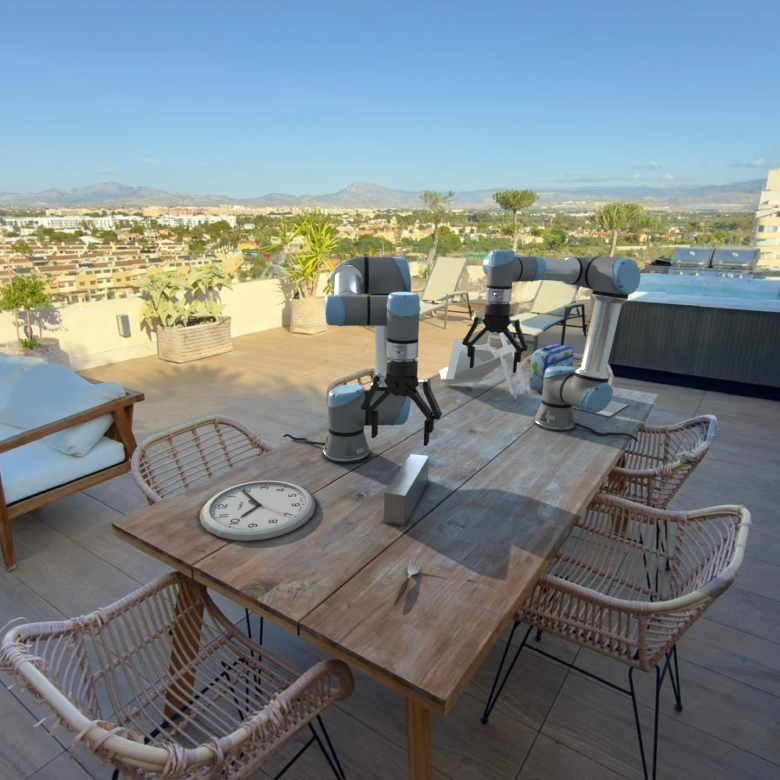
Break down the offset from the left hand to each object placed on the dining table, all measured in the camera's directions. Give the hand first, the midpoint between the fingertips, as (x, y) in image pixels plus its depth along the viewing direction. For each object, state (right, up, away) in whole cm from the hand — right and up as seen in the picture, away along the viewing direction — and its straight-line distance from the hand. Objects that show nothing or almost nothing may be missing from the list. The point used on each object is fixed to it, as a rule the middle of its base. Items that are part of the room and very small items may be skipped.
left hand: (400, 440), depth 131 cm
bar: (+2, -18, +14) cm, 23 cm away
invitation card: (+89, +5, +95) cm, 130 cm away
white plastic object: (+39, +11, +112) cm, 119 cm away
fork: (+1, -29, -20) cm, 35 cm away
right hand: (+30, +19, +34) cm, 49 cm away
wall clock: (-38, -19, +9) cm, 43 cm away
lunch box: (+74, +13, +119) cm, 140 cm away
